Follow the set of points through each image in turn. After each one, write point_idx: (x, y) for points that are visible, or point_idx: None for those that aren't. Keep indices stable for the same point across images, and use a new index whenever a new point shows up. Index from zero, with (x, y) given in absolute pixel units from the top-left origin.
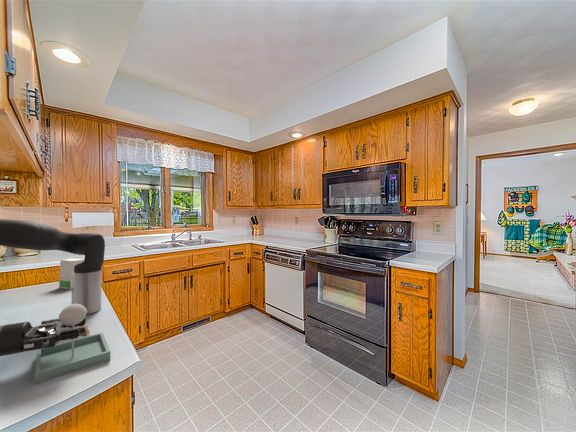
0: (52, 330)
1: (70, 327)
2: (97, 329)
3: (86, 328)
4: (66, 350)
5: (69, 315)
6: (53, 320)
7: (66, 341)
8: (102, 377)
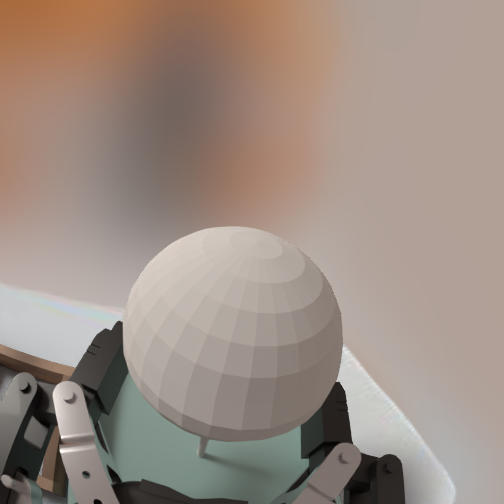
0: (311, 491)
1: (109, 409)
2: (8, 332)
3: (1, 349)
4: (117, 461)
5: (342, 342)
6: (4, 448)
7: (55, 439)
8: (367, 385)
